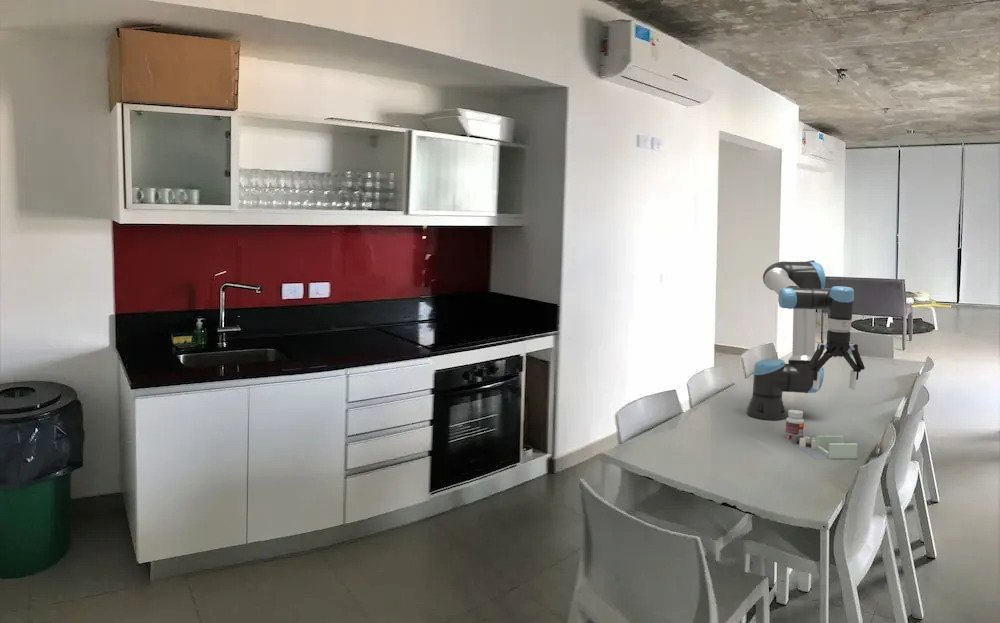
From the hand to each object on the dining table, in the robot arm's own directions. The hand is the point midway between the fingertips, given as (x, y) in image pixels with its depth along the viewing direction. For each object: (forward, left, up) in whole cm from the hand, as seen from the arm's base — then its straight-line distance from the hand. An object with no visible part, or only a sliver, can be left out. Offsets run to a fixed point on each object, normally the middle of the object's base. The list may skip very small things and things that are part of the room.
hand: (833, 389), depth 261 cm
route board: (+6, -6, -22) cm, 23 cm away
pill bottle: (-8, -10, -22) cm, 25 cm away
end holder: (+10, -3, -21) cm, 23 cm away
